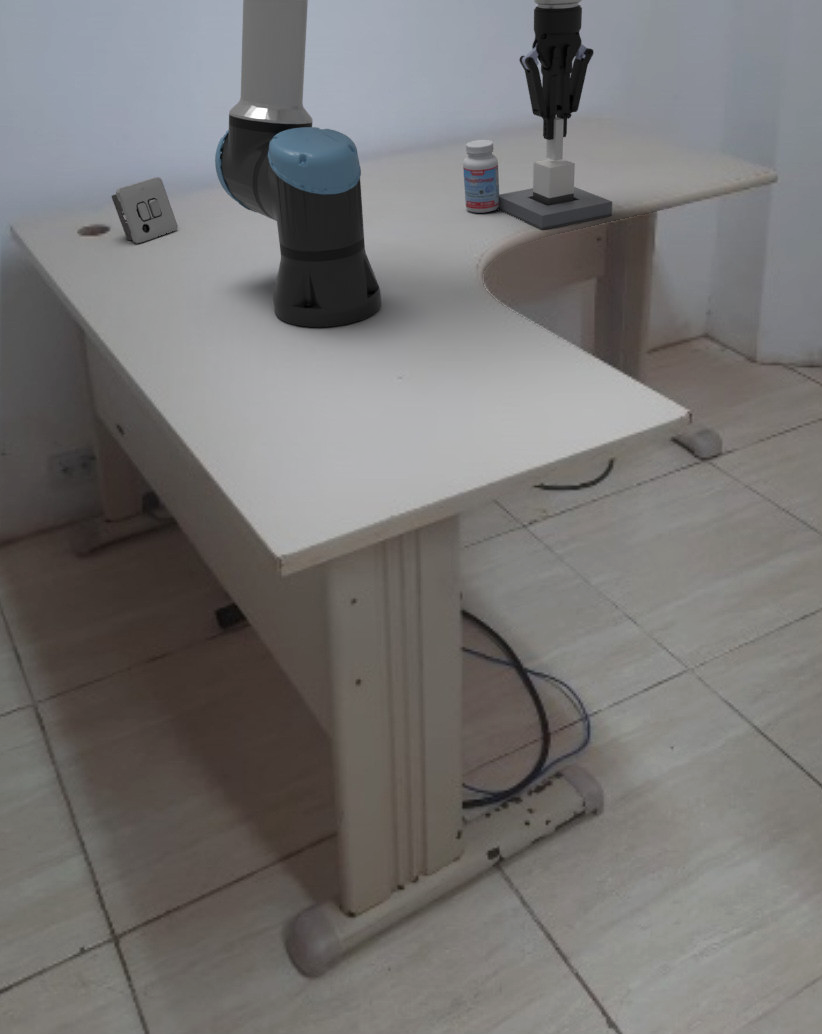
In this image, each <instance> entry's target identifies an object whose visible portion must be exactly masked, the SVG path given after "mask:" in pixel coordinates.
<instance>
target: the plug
mask: <svg viewBox="0 0 822 1034" xmlns="http://www.w3.org/2000/svg"><path fill="white" fill-rule="evenodd" d="M575 165H576V163H574V162H572V161H568V160H566V159H561V160H556V161H555V160H552V159H549V158H547V159H544V160H538V161H533V170H532V171H533V172H532V173H533V175H532V177H533V178H532V179H533V180H532V185H533V187H532V188H533V200H535V201H537V202H540V203H542V204H544V205H547V206H549V205H554V204H559V203H565V202H570V201H573V200H574V187H575V173H576V172H575V170H576V169H575V168H576V167H575Z"/></svg>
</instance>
